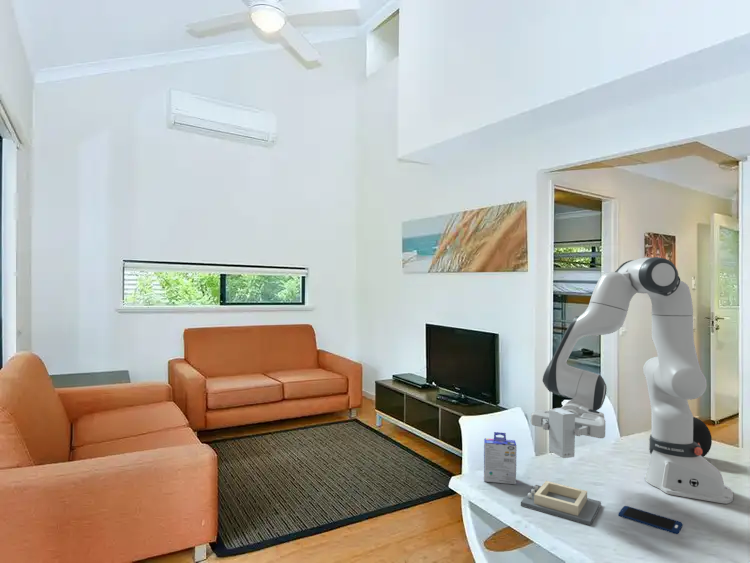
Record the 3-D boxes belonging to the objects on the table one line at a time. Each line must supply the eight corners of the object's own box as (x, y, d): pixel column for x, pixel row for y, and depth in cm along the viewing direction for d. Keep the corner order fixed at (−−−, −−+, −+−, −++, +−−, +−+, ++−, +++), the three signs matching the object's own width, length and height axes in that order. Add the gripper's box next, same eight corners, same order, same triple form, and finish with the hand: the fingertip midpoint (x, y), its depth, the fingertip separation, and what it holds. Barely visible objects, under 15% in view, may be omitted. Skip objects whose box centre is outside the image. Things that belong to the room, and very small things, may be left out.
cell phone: (678, 536, 117) (678, 533, 117) (617, 517, 126) (617, 514, 126) (683, 525, 122) (683, 522, 122) (624, 507, 131) (624, 504, 131)
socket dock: (600, 505, 132) (601, 492, 132) (590, 525, 121) (590, 511, 121) (536, 488, 142) (536, 476, 142) (520, 505, 131) (520, 492, 131)
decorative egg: (662, 455, 172) (662, 414, 172) (683, 450, 177) (684, 410, 177) (697, 467, 160) (698, 423, 161) (719, 462, 166) (719, 419, 166)
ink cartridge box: (515, 477, 150) (515, 432, 150) (516, 485, 144) (517, 438, 144) (483, 475, 152) (484, 430, 152) (483, 482, 146) (484, 435, 146)
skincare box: (575, 457, 130) (577, 413, 129) (562, 458, 128) (564, 414, 128) (559, 449, 135) (561, 407, 135) (546, 450, 134) (548, 408, 134)
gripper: (538, 402, 148) (523, 412, 137) (609, 414, 136) (600, 425, 125) (537, 422, 148) (523, 433, 137) (609, 435, 136) (600, 449, 125)
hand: (560, 429), depth 131 cm, fingers closed on skincare box, 7 cm apart
